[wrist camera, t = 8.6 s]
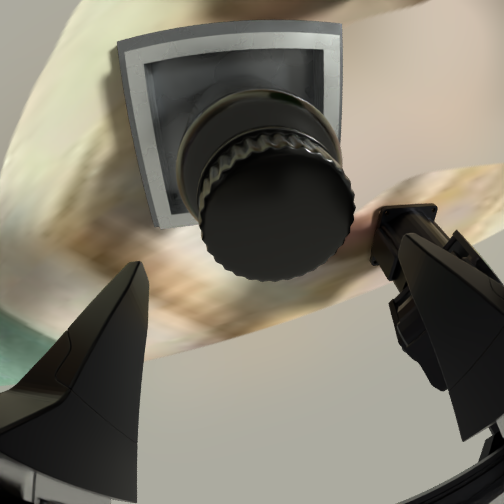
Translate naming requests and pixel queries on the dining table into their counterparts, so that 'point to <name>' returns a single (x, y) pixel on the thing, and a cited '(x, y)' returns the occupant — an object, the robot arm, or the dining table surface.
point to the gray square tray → (209, 72)
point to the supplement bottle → (263, 179)
